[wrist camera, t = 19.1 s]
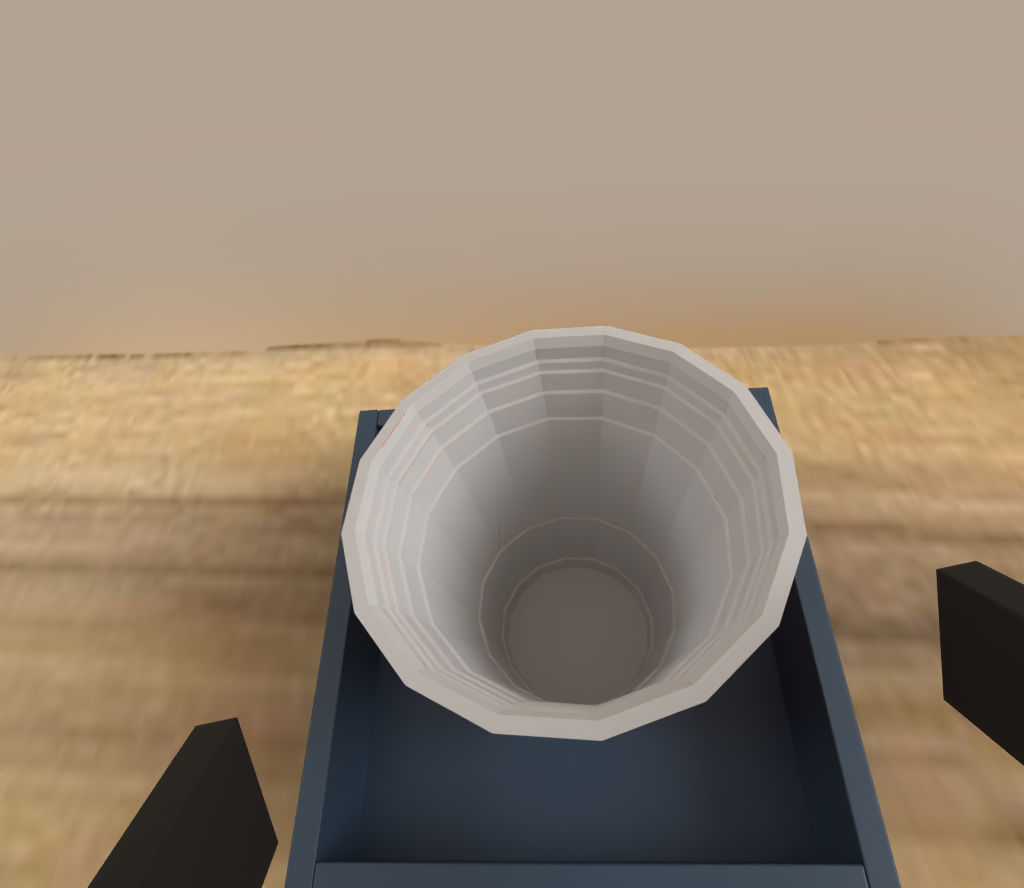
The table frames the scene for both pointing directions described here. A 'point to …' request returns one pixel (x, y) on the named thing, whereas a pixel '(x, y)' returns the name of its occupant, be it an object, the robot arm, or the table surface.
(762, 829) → the bin
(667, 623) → the plastic cup
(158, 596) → the table surface
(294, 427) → the table surface
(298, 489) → the table surface
